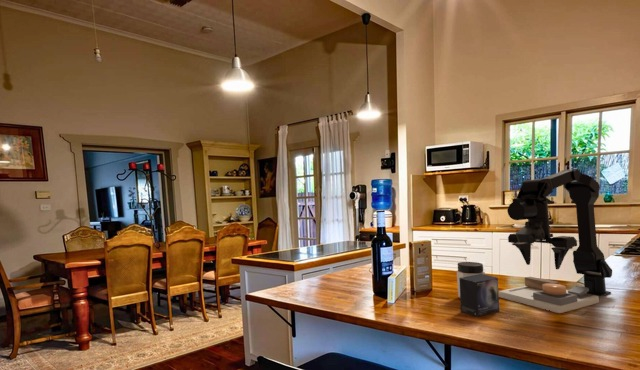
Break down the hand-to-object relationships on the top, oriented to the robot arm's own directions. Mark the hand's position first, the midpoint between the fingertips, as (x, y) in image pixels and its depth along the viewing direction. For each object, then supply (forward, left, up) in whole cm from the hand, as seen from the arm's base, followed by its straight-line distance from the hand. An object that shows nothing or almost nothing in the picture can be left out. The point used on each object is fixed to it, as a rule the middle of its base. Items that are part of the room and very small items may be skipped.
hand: (542, 266), depth 106 cm
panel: (-6, -3, -12) cm, 14 cm away
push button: (-1, +3, -7) cm, 8 cm away
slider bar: (-10, -7, -10) cm, 15 cm away
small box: (+22, -6, -12) cm, 26 cm away
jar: (+13, -17, -12) cm, 24 cm away
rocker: (-12, +3, -9) cm, 15 cm away
